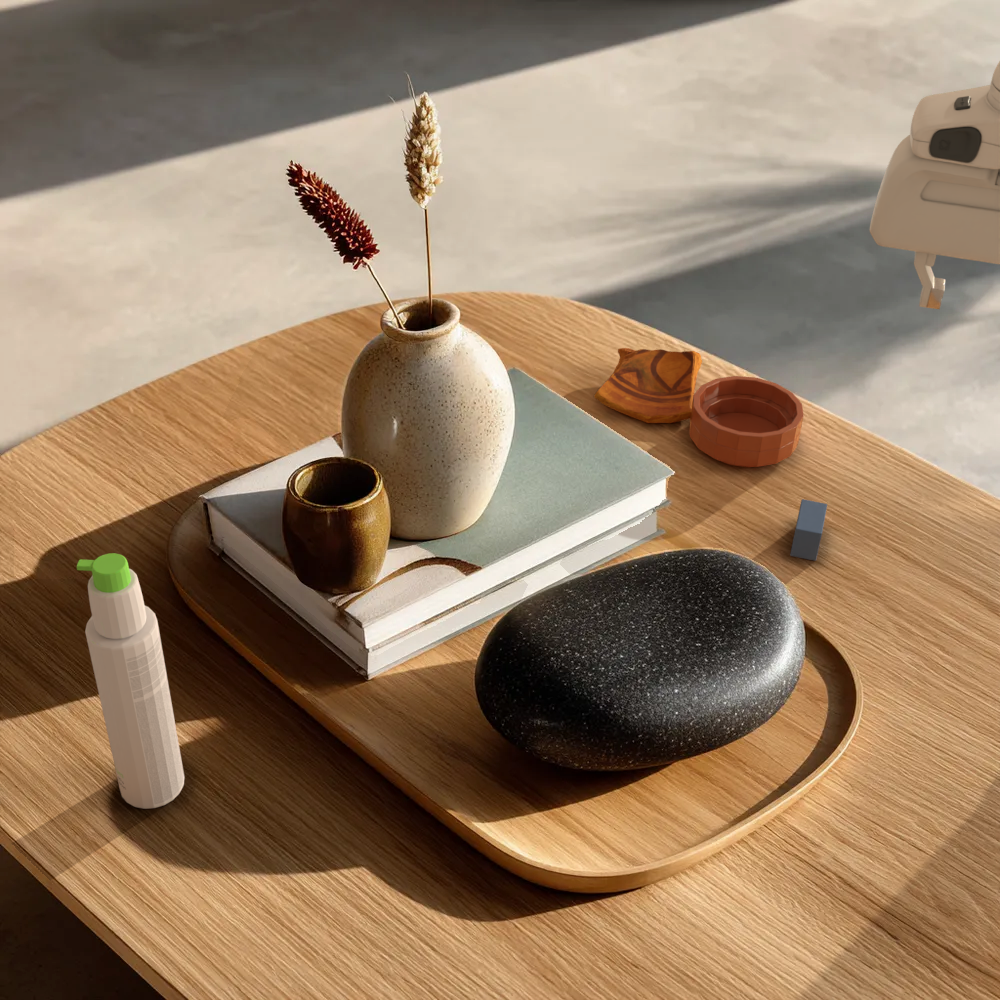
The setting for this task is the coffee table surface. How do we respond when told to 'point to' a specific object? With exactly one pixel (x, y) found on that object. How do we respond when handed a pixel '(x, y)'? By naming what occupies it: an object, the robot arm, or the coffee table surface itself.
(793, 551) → the eraser
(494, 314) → the coffee table surface
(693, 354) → the pottery fragment
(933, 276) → the robot arm
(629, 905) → the coffee table surface
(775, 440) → the bowl
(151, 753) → the bottle
